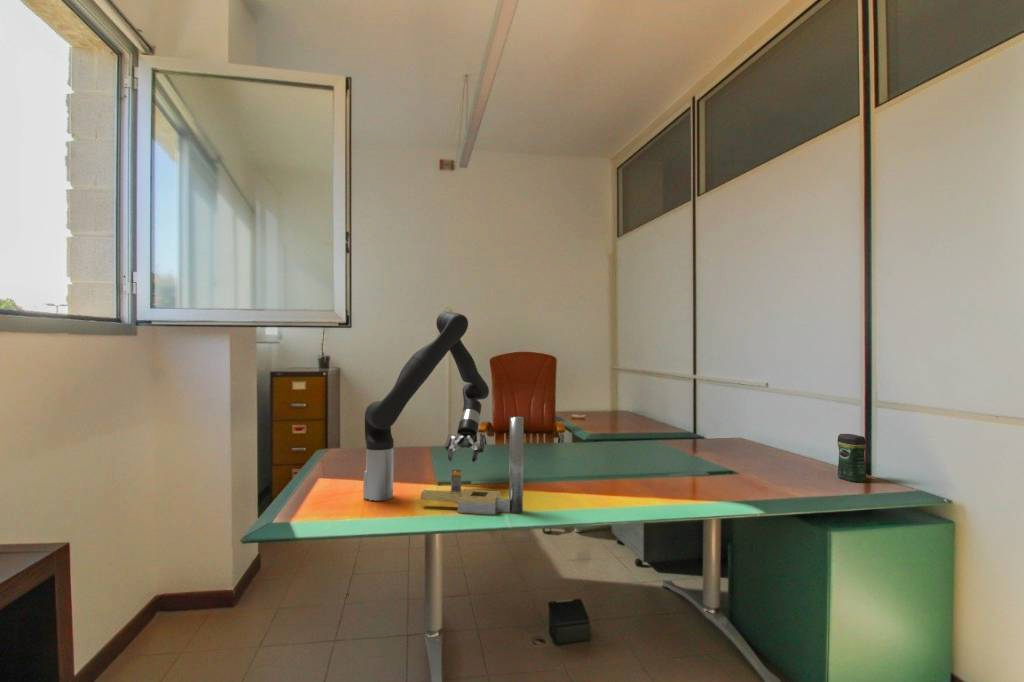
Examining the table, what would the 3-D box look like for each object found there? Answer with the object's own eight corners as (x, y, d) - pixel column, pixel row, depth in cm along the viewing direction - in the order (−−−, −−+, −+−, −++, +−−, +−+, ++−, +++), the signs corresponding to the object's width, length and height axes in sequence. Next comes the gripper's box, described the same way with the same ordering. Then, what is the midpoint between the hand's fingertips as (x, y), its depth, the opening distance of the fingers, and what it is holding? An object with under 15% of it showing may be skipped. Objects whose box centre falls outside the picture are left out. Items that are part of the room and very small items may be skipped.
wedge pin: (449, 501, 172) (449, 471, 173) (452, 498, 176) (452, 469, 176) (459, 501, 172) (459, 472, 172) (462, 498, 175) (462, 469, 176)
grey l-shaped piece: (418, 510, 162) (419, 416, 162) (426, 502, 171) (427, 413, 171) (520, 516, 157) (521, 419, 158) (524, 507, 166) (525, 416, 167)
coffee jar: (870, 482, 203) (870, 435, 203) (854, 483, 201) (854, 436, 201) (849, 476, 212) (849, 432, 213) (833, 477, 210) (833, 432, 211)
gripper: (449, 417, 192) (440, 453, 180) (486, 418, 190) (479, 455, 178) (452, 429, 197) (444, 465, 186) (488, 430, 195) (482, 467, 184)
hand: (461, 460), depth 182 cm, fingers open, 8 cm apart
